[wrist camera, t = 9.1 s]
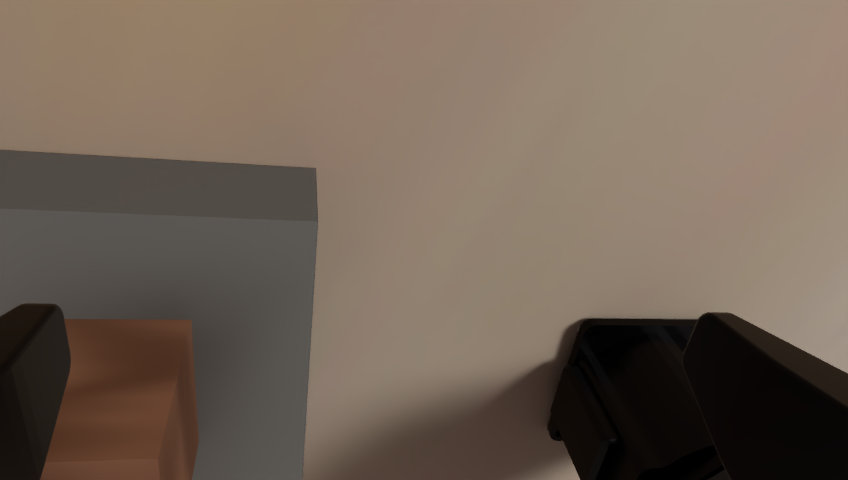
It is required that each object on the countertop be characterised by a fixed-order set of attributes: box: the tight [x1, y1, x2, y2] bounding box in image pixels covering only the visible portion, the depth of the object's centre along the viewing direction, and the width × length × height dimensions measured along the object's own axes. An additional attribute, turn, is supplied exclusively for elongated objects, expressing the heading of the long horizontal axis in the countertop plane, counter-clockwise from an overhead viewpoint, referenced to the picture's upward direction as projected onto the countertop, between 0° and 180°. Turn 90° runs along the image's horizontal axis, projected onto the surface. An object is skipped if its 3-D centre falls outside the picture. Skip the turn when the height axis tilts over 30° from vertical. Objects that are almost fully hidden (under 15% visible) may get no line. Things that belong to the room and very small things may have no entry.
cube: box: [40, 319, 199, 480], centre depth 17 cm, size 5×5×5 cm
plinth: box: [0, 150, 318, 480], centre depth 21 cm, size 12×12×4 cm
